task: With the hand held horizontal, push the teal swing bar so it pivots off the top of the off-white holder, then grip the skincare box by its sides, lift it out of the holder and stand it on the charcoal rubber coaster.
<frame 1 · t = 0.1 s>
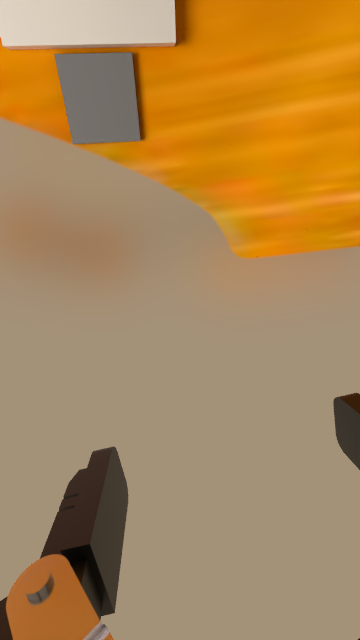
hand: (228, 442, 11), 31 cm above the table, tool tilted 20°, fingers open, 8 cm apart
coaster: (101, 101, 29), on the table
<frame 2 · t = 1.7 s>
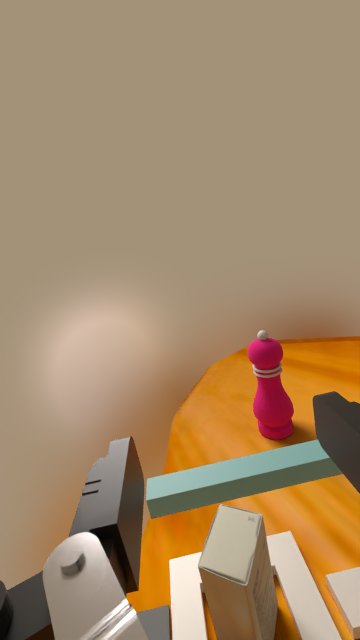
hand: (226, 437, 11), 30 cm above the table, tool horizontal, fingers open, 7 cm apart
holder: (251, 632, 29), on the table
swing bar: (271, 469, 24), point 18 cm above the table, hinge at 0.0°
pepper mill: (275, 430, 56), on the table
skincare box: (251, 634, 29), resting in holder
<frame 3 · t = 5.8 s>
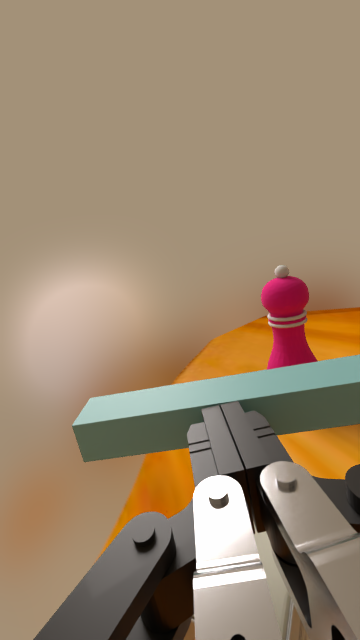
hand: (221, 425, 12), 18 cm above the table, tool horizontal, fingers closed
swing bar: (319, 393, 12), point 18 cm above the table, hinge at 6.5°, touching gripper
pepper mill: (296, 402, 43), on the table
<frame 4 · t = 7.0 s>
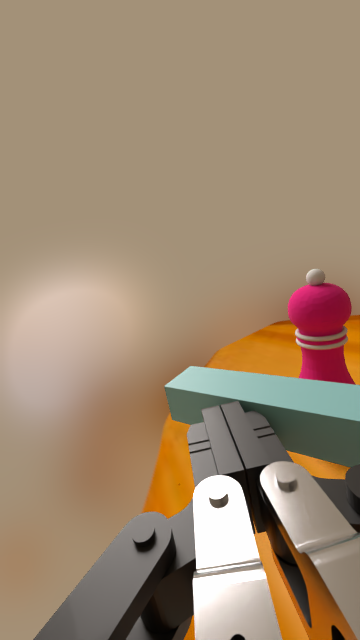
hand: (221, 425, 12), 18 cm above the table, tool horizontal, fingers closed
pepper mill: (329, 438, 35), on the table
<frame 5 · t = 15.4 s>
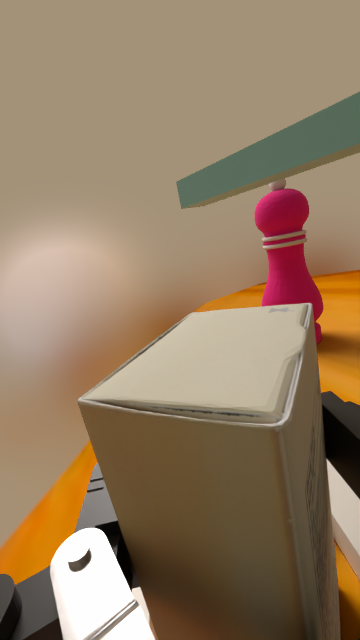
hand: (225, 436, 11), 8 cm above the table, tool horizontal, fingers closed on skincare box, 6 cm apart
swing bar: (337, 134, 13), point 18 cm above the table, hinge at 55.0°
pepper mill: (295, 341, 38), on the table
when the fingers open (9 cm above the table, at t = 19.2 s): skincare box stays where it is, resting on coaster.
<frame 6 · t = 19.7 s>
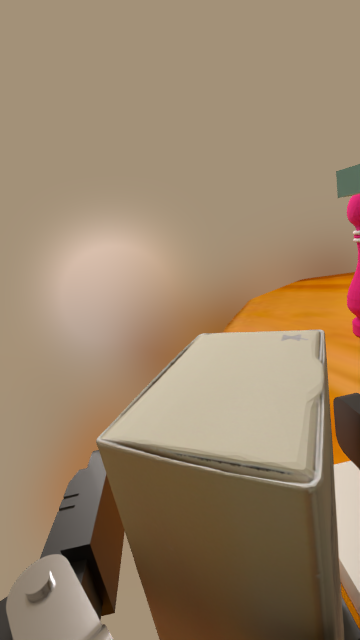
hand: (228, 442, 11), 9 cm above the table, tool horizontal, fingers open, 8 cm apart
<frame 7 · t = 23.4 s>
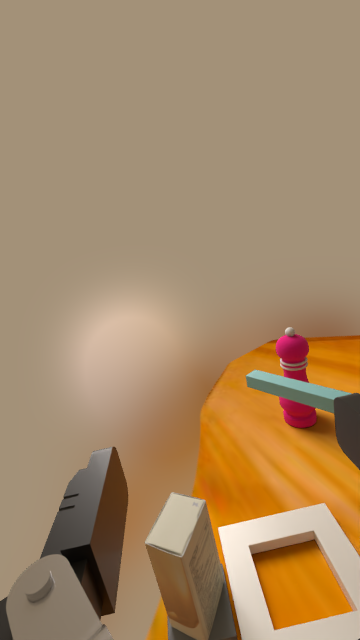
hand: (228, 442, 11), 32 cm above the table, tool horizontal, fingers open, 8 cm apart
holder: (297, 583, 33), on the table
swing bar: (319, 396, 36), point 18 cm above the table, hinge at 55.0°
coaster: (199, 607, 33), on the table
pepper mill: (300, 419, 61), on the table
skincare box: (199, 605, 33), resting on coaster
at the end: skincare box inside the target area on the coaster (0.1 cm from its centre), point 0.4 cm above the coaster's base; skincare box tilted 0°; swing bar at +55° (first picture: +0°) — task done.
